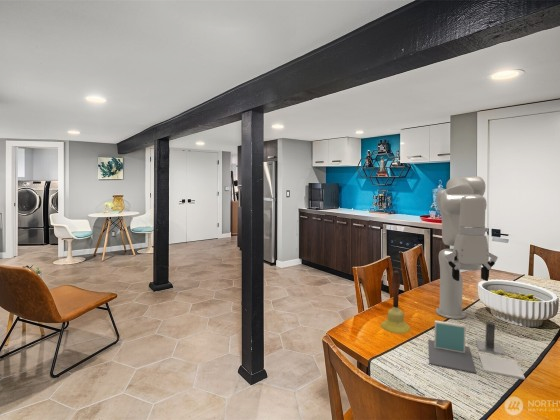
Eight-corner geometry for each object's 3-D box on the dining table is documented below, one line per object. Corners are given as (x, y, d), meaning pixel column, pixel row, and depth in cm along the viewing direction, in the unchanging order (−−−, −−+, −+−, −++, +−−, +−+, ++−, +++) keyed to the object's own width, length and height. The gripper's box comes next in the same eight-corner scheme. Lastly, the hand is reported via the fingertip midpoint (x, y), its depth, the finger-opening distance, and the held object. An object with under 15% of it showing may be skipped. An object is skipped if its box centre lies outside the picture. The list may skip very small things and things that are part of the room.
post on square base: (475, 341, 124) (476, 317, 123) (499, 345, 121) (500, 320, 120) (478, 351, 117) (479, 325, 116) (504, 355, 113) (505, 329, 113)
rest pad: (478, 355, 114) (478, 353, 114) (515, 361, 109) (515, 360, 109) (484, 371, 104) (484, 369, 104) (525, 379, 99) (525, 377, 99)
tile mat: (428, 340, 125) (428, 339, 125) (469, 348, 119) (469, 346, 119) (429, 364, 108) (429, 362, 108) (476, 373, 102) (476, 372, 102)
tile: (434, 345, 120) (434, 320, 119) (464, 350, 116) (465, 324, 115) (434, 347, 118) (435, 322, 118) (464, 353, 114) (465, 326, 114)
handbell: (381, 331, 133) (381, 274, 131) (380, 319, 145) (380, 266, 143) (412, 335, 130) (413, 276, 128) (408, 322, 142) (409, 268, 140)
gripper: (490, 229, 111) (489, 276, 113) (441, 230, 112) (439, 276, 114) (504, 232, 104) (502, 283, 105) (451, 233, 105) (450, 283, 106)
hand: (470, 279), depth 109 cm, fingers open, 9 cm apart
